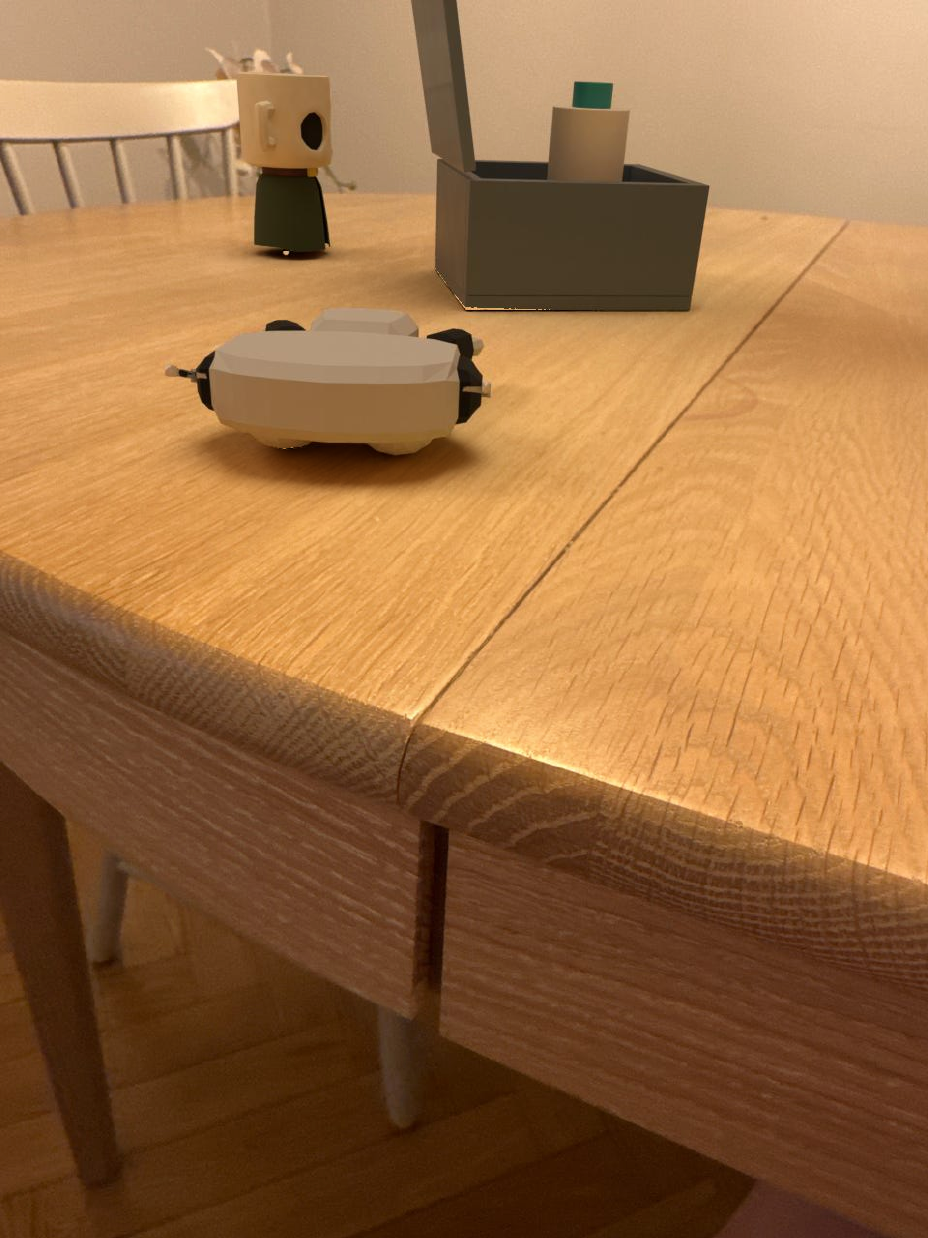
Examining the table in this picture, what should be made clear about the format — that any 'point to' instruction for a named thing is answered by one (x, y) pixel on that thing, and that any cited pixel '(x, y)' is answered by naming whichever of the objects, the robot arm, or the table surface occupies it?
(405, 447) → the robot toy
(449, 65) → the lid
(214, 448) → the table surface
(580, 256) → the dark grey open box
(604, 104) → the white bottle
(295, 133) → the beige and green figure
